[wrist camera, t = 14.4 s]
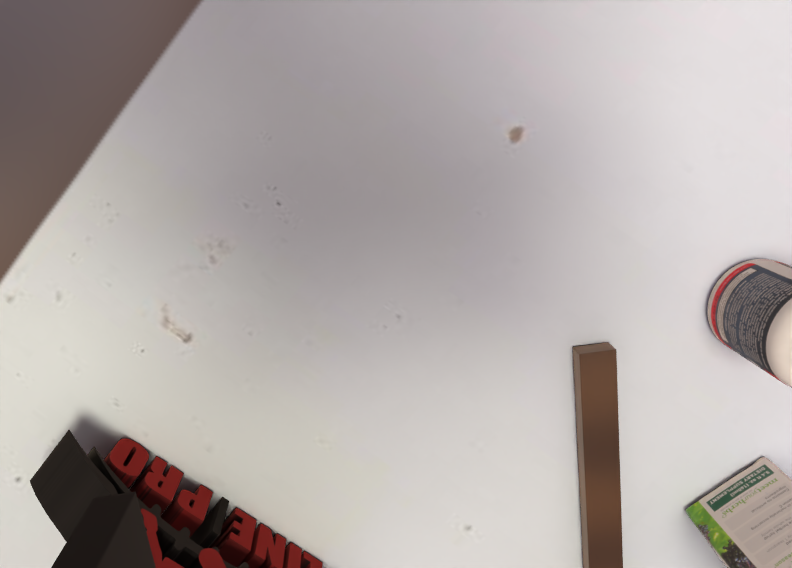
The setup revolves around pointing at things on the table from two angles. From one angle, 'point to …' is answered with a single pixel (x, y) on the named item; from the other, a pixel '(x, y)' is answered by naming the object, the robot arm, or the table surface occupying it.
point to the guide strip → (598, 454)
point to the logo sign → (159, 509)
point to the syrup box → (749, 518)
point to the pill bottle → (756, 314)
